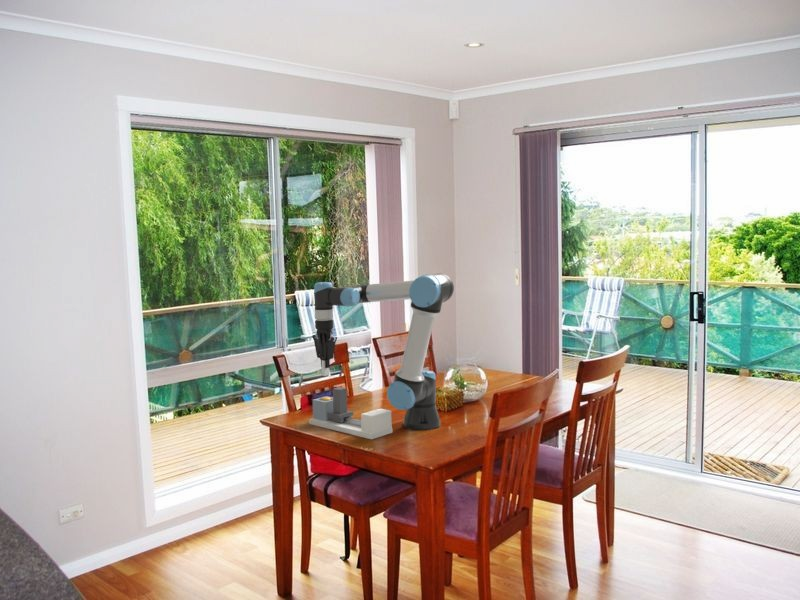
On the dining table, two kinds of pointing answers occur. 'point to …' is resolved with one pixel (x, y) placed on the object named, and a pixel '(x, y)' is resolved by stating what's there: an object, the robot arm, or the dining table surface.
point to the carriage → (339, 405)
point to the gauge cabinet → (322, 408)
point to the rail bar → (352, 421)
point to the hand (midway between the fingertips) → (325, 375)
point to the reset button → (325, 398)
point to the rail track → (347, 428)
